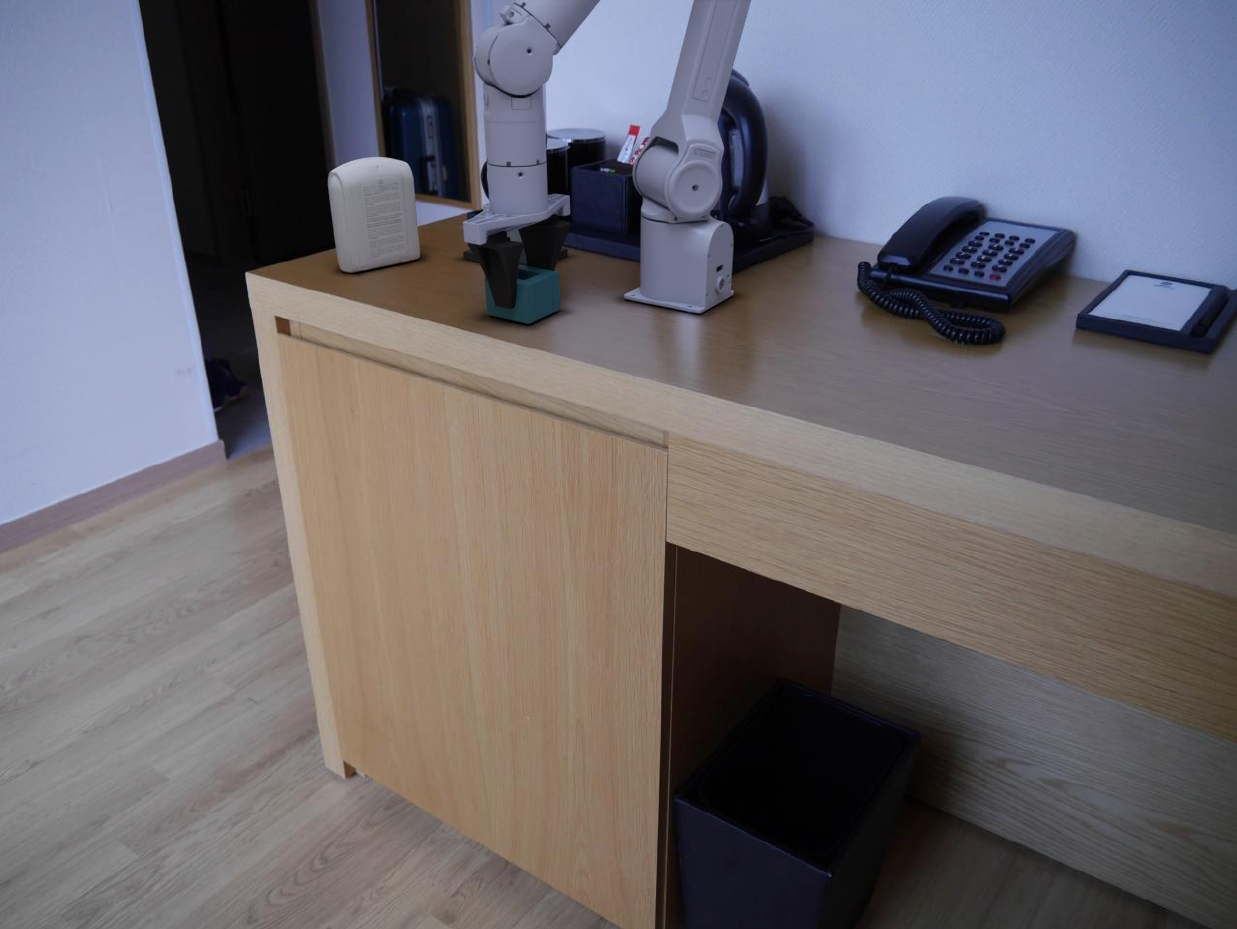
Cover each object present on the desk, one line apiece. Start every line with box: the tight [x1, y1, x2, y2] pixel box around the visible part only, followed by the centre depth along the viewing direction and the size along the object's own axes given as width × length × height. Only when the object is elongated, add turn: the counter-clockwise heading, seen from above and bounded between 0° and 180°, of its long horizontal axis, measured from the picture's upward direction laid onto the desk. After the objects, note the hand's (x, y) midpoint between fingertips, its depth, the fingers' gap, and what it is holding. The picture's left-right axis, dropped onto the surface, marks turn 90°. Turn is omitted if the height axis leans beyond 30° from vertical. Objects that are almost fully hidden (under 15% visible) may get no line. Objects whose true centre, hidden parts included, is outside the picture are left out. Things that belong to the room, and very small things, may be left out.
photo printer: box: [327, 156, 421, 274], centre depth 113 cm, size 10×4×12 cm, turn 134°
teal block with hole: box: [484, 265, 561, 325], centre depth 98 cm, size 5×5×4 cm
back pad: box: [462, 230, 569, 266], centre depth 117 cm, size 10×8×6 cm
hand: (523, 298), depth 98 cm, fingers closed on teal block with hole, 5 cm apart
